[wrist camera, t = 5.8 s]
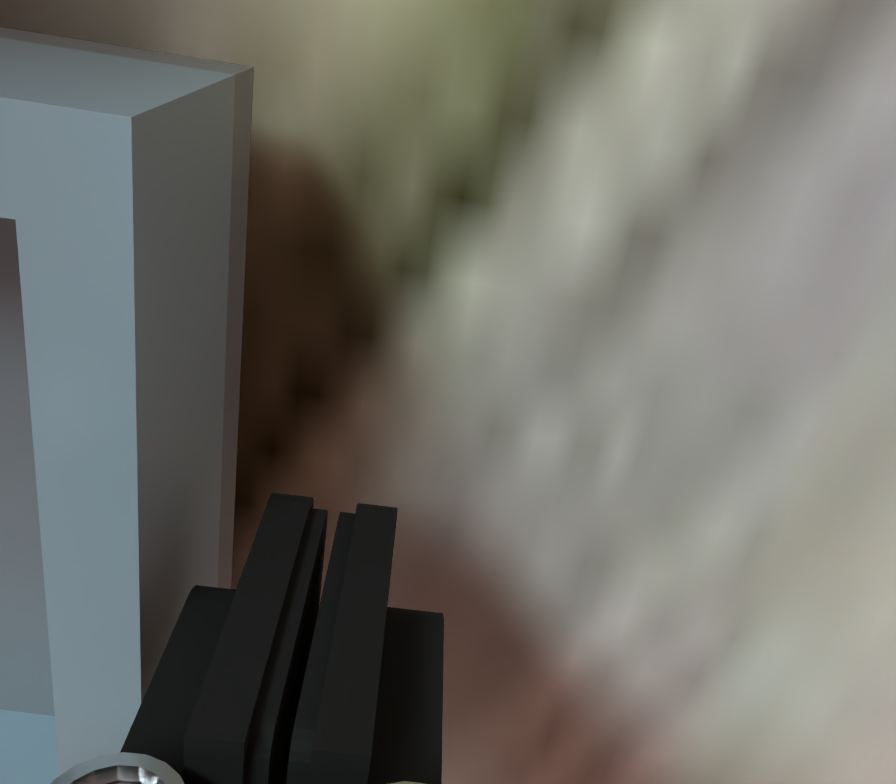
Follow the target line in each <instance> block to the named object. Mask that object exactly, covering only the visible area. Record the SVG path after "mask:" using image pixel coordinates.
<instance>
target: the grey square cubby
mask: <svg viewBox="0 0 896 784" xmlns="http://www.w3.org/2000/svg"><path fill="white" fill-rule="evenodd" d="M253 75H254V67H251V66H245V65H238V64H232V63H226V62H219V61H213V60H207V59H200V58H194V57H188V56H181V55H175V54H169V53H162V52H156V51H149V50H143V49H137V48H130V47H124V46H118V45H111V44H105V43H99V42H92V41H86V40H80V39H73V38H67V37H61V36H54V35H48V34H42V33H35V32H29V31H23V30H16V29H10V28H4V27H0V784H50V783H51V782H52V781H53V780H54V779H56V778H57V777H59V776H60V775H62V774H63V773H65V772H66V771H68V770H69V769H71V768H72V767H73V766H75V765H77V764H80V763H82V762H85V761H87V760H90V759H93V758H95V757H98V756H102V755H109V754H115V753H120V751H121V749H122V747H123V744H124V742H125V740H126V737H127V735H128V733H129V731H130V728H131V726H132V724H133V721H134V719H135V717H136V714H137V712H138V710H139V708H140V705H141V703H142V701H143V698H144V696H145V694H146V691H147V689H148V687H149V684H150V682H151V680H152V678H153V675H154V673H155V671H156V668H157V666H158V664H159V661H160V659H161V657H162V655H163V652H164V650H165V648H166V645H167V643H168V641H169V638H170V636H171V634H172V632H173V629H174V627H175V625H176V622H177V620H178V618H179V615H180V613H181V611H182V609H183V606H184V604H185V602H186V599H187V597H188V595H189V593H190V591H191V589H192V588H193V587H194V586H195V585H200V586H209V587H217V588H226V589H231V580H232V557H233V534H234V511H235V488H236V465H237V442H238V419H239V396H240V373H241V350H242V327H243V304H244V282H245V259H246V236H247V213H248V190H249V167H250V144H251V121H252V98H253Z"/></svg>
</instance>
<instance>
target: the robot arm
mask: <svg viewBox="0 0 896 784" xmlns="http://www.w3.org/2000/svg"><path fill="white" fill-rule="evenodd" d="M313 505H314V504H313V498H312V497H304V496H296V495H287V494H279V493H272V494H271V495H270V498H269V500H268V503H267V506H266V509H265V512H264V514H263V517H262V520H261V523H260V525H259V528H258V531H257V534H256V537H255V539H254V542H253V545H252V548H251V551H250V553H249V556H248V559H247V562H246V564H245V567H244V570H243V573H242V576H241V578H240V581H239V584H238V587H237V590H235V589H226V588H217V587H209V586H200V585H195V586H194V587H193V588H192V589H191V591H190V593H189V595H188V597H187V599H186V602H185V604H184V606H183V609H182V611H181V613H180V615H179V618H178V620H177V622H176V625H175V627H174V629H173V632H172V634H171V636H170V638H169V641H168V643H167V645H166V648H165V650H164V652H163V655H162V657H161V659H160V661H159V664H158V666H157V668H156V671H155V673H154V675H153V678H152V680H151V682H150V684H149V687H148V689H147V691H146V694H145V696H144V698H143V701H142V703H141V705H140V708H139V710H138V712H137V714H136V717H135V719H134V721H133V724H132V726H131V728H130V731H129V733H128V735H127V737H126V740H125V742H124V744H123V747H122V749H121V751H120V753H115V754H109V755H102V756H98V757H95V758H93V759H90V760H87V761H85V762H82V763H80V764H77V765H75V766H73V767H72V768H71V769H69V770H68V771H66V772H65V773H63V774H62V775H60V776H59V777H57V778H56V779H54V780H53V781H52V782H51V783H50V784H441V773H442V706H443V639H444V617H443V613H435V612H426V611H417V610H408V609H400V608H391V607H387V603H388V594H389V584H390V575H391V565H392V556H393V547H394V537H395V528H396V518H397V508H394V507H386V506H378V505H369V504H361V503H358V504H357V508H356V513H355V514H353V513H345V512H340V514H339V518H338V523H337V528H336V532H335V537H334V542H333V546H332V551H331V556H330V560H329V565H328V570H327V574H326V579H325V584H324V588H323V593H322V597H321V602H320V607H319V601H320V591H321V580H322V570H323V559H324V549H325V538H326V528H327V516H328V511H327V510H320V509H313Z"/></svg>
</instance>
